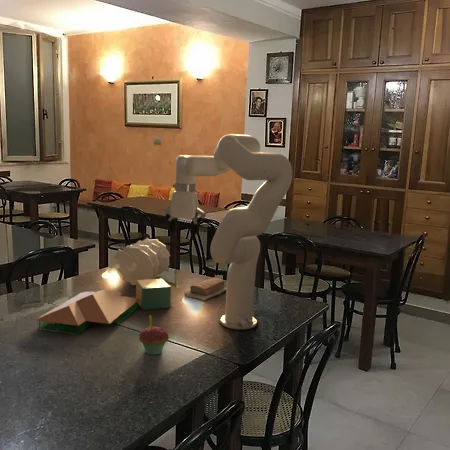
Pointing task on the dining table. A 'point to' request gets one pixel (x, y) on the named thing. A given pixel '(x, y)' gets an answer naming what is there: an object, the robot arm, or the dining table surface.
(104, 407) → the dining table surface
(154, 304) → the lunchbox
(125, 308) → the house
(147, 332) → the cupcake
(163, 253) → the spiral staircase
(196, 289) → the packaged product
